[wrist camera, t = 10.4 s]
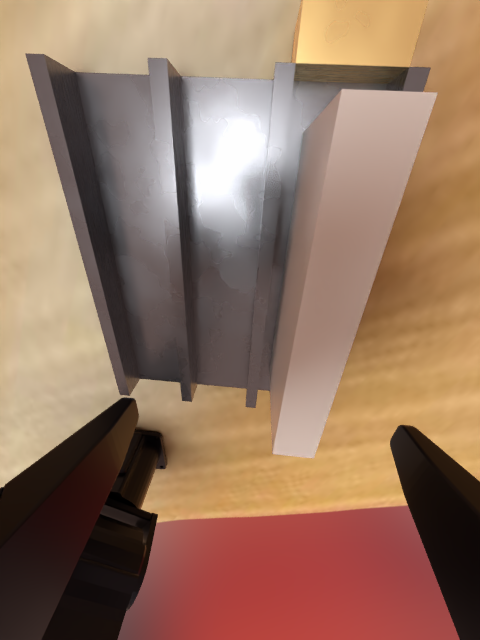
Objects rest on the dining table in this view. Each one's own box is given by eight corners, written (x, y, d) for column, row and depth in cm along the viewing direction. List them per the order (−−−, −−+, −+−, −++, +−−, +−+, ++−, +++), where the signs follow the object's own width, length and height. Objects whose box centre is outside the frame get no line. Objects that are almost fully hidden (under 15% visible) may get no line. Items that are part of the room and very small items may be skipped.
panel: (298, 375, 20) (313, 458, 14) (269, 372, 20) (272, 454, 14) (351, 135, 12) (437, 92, 6) (302, 132, 12) (341, 89, 6)
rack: (313, 386, 22) (320, 414, 20) (136, 370, 23) (120, 394, 20) (410, 32, 11) (455, -13, 8) (60, 22, 12) (4, -22, 9)
